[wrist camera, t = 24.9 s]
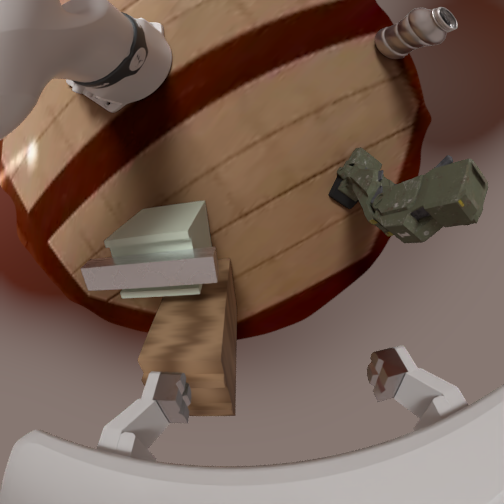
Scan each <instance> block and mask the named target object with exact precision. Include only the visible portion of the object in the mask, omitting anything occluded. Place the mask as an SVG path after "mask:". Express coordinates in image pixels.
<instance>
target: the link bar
mask: <svg viewBox="0 0 504 504" xmlns="http://www.w3.org/2000/svg"><path fill="white" fill-rule="evenodd" d="M81 271H82V274H83V277H84V280H85V283H86V285H87V288H88V291H91V290H113V289H132V288H149V287H165V286H180V285H194V284H207V283H217V282H218V276H219V266H218V260H217V253H216V247H206V248H196V249H185V250H175V251H165V252H155V253H146V254H136V255H126V256H117V257H107V258H98V259H90V260H89V261H88V262H87V263H86V264H85V265H84V266H83V267H82V268H81Z"/></svg>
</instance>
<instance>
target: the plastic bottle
mask: <svg viewBox="0 0 504 504" xmlns="http://www.w3.org/2000/svg"><path fill="white" fill-rule="evenodd" d="M457 26H458V25H457V21H456V19H455V17H454V16H453V14H452V13H451V12H450V11H449V10H448V9H446V8H443V7H439V8H437V9H433V10H432V11H431V10H428V9H425V8H415V9H413V10H412V11H411V12H410V13H408V14H407V16H406V17H405V18H404V19H402V20H401V21H400V22H398V23H397V24H395V25H392V26H390V27H386V28H383V29H381V30H379V31H378V33H377V34H376V36H375V43H376V46H377V48H378V50H379V51H380V52H381V53H382V54H383V55H385V56H386V57H388V58H390V59H401V58H403V57H405V56H406V55H407V54H408V53H409V52H411V51H412V50H414V49H417V48H420V47H423V46H430V45H437V44H440V43H442V42H443V41H444V39H445V37H446V33H447V32H450V31H452V30H454V29H457Z"/></svg>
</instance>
